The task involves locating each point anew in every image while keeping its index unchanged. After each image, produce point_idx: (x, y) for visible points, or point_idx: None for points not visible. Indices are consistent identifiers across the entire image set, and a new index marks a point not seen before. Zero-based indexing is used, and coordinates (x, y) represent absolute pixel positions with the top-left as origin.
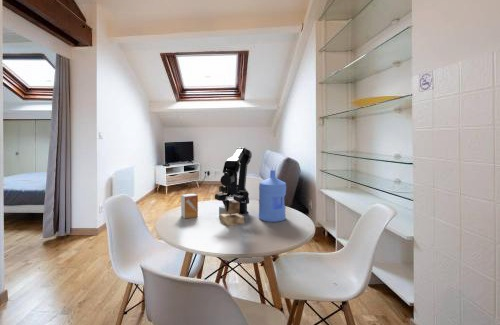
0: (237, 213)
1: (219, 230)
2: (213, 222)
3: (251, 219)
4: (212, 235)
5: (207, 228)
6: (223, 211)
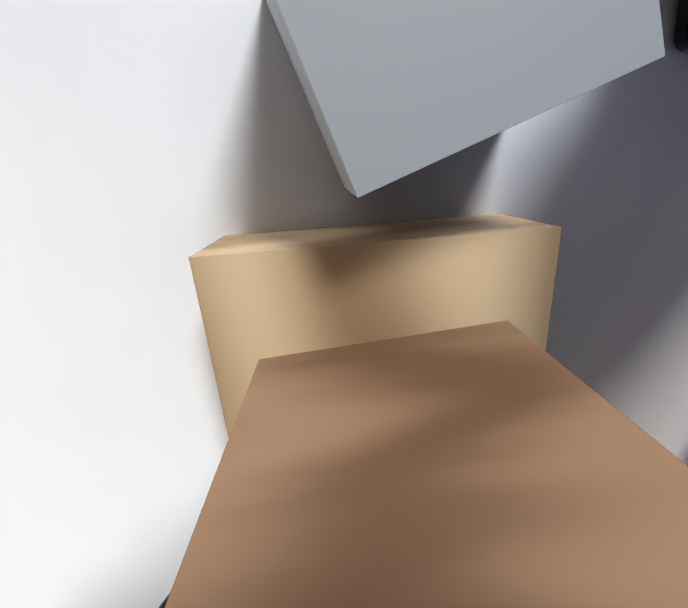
0: (528, 333)
1: (148, 530)
2: (111, 273)
3: (644, 357)
4: (63, 602)
5: (15, 446)
6: (312, 99)
